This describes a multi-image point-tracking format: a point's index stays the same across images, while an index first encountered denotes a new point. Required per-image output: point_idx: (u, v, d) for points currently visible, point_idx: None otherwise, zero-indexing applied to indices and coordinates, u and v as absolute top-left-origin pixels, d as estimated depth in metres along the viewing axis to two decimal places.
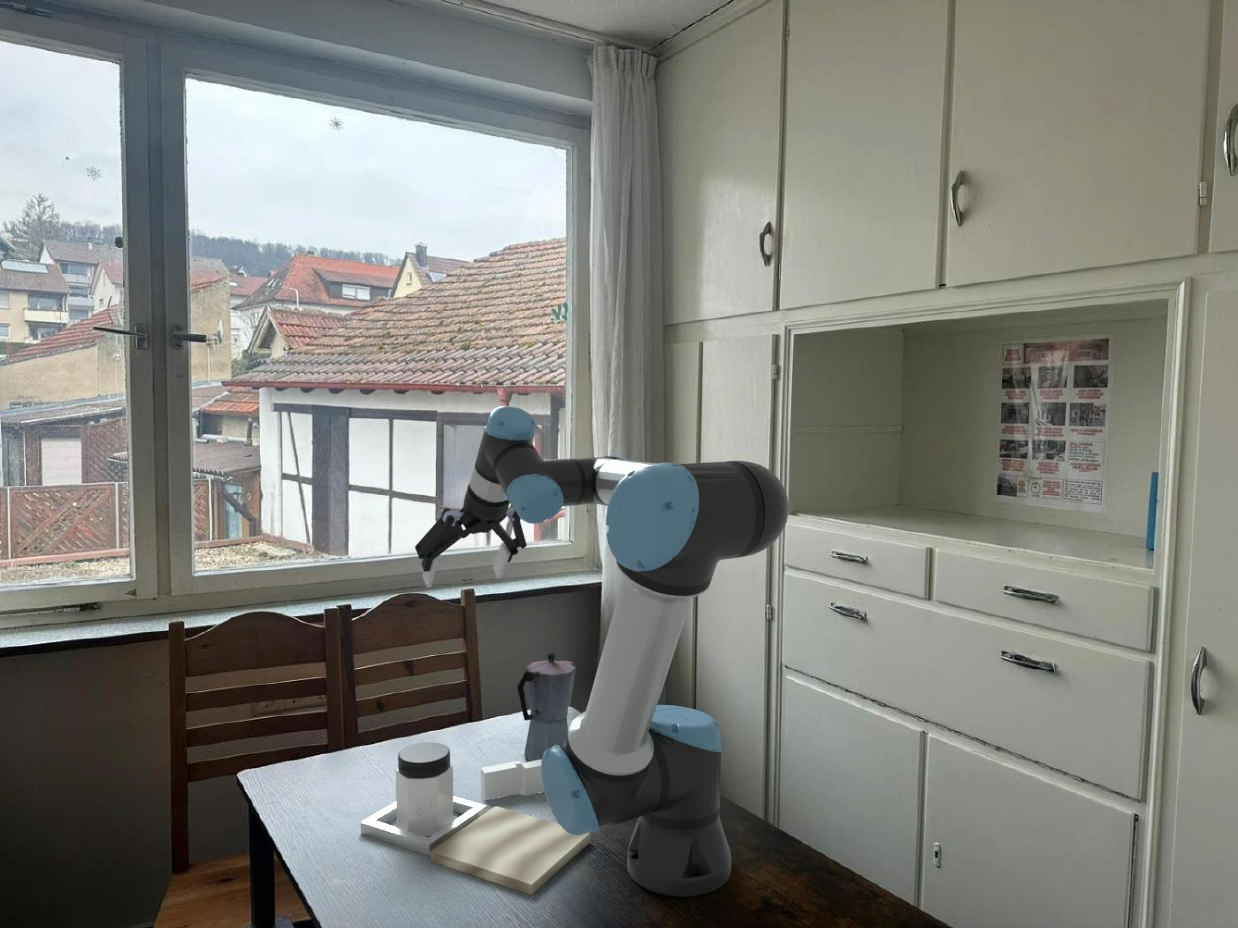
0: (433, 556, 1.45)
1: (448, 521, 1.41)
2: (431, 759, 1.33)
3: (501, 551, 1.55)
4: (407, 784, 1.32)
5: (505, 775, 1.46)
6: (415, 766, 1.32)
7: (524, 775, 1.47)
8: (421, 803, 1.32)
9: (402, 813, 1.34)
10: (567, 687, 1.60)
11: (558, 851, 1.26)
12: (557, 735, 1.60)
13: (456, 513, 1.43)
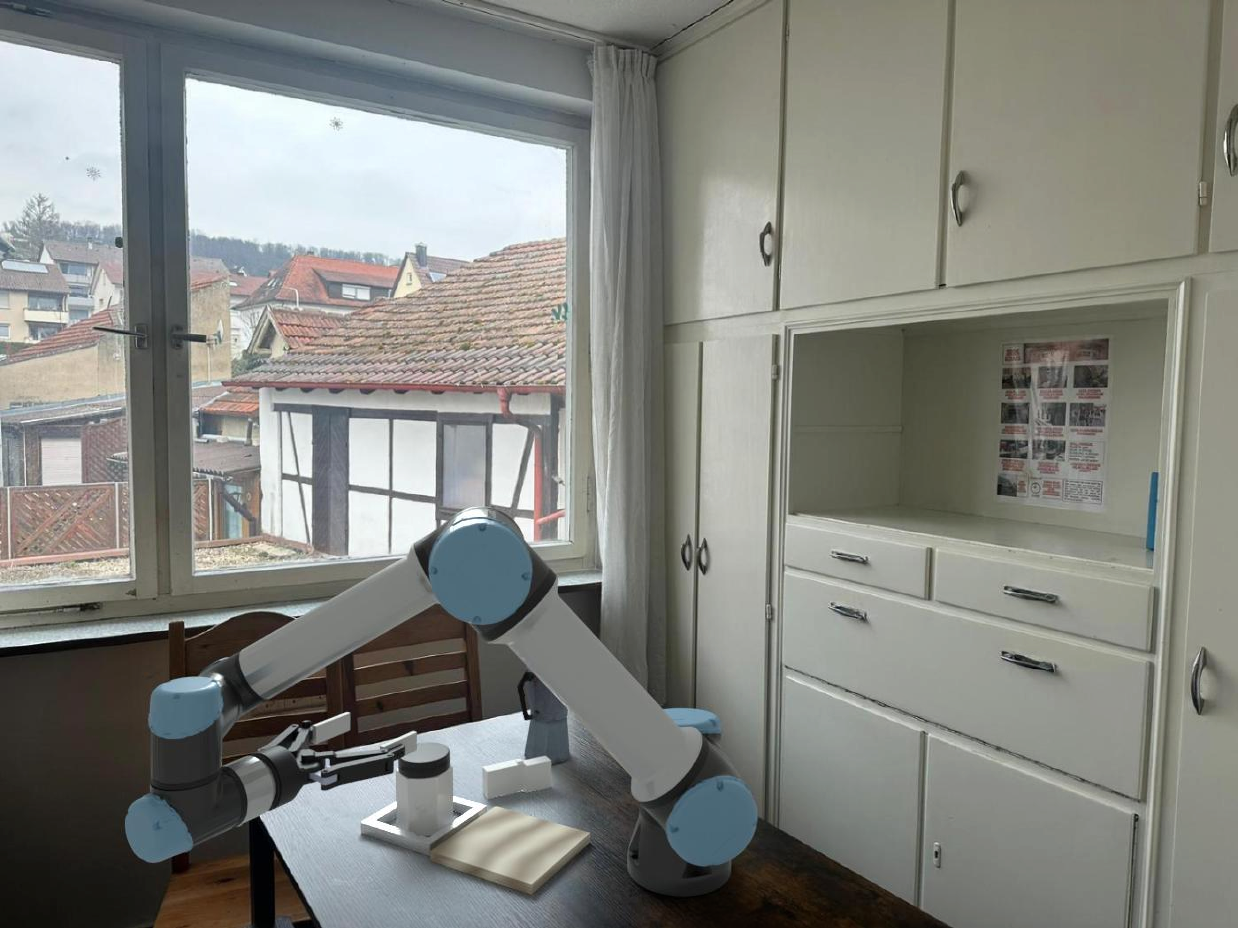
0: (380, 750, 1.17)
1: (329, 770, 1.10)
2: (431, 759, 1.33)
3: (322, 735, 1.26)
4: (407, 784, 1.32)
5: (507, 773, 1.47)
6: (415, 766, 1.32)
7: (526, 772, 1.48)
8: (421, 803, 1.32)
9: (402, 813, 1.34)
10: None
11: (558, 851, 1.26)
12: (557, 735, 1.60)
13: (316, 778, 1.11)
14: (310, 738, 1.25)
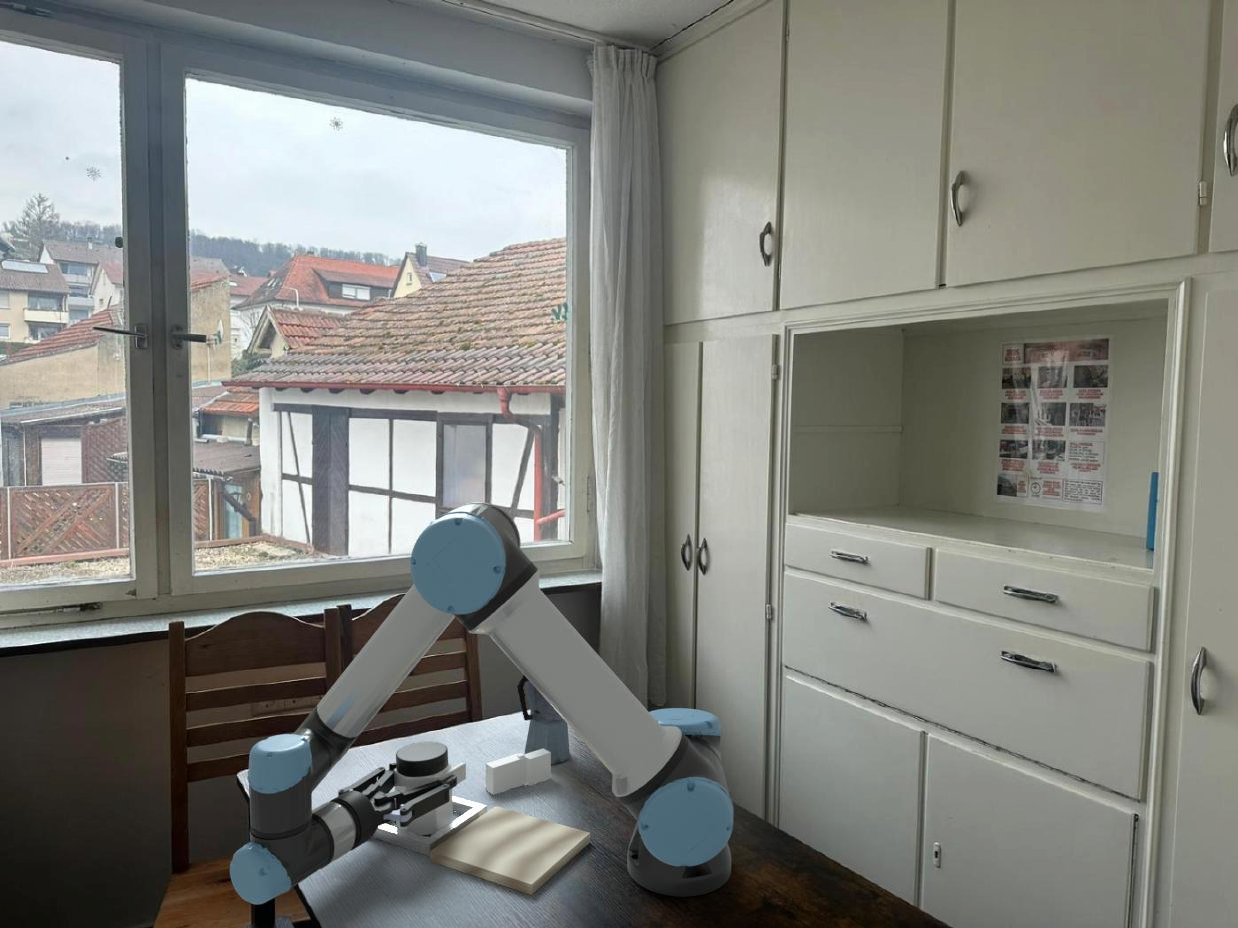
0: (436, 782, 1.32)
1: (407, 808, 1.23)
2: (429, 757, 1.33)
3: None
4: (405, 783, 1.32)
5: (511, 768, 1.49)
6: (413, 765, 1.32)
7: (528, 766, 1.51)
8: None
9: None
10: None
11: (558, 851, 1.26)
12: (557, 735, 1.60)
13: (394, 817, 1.23)
14: None
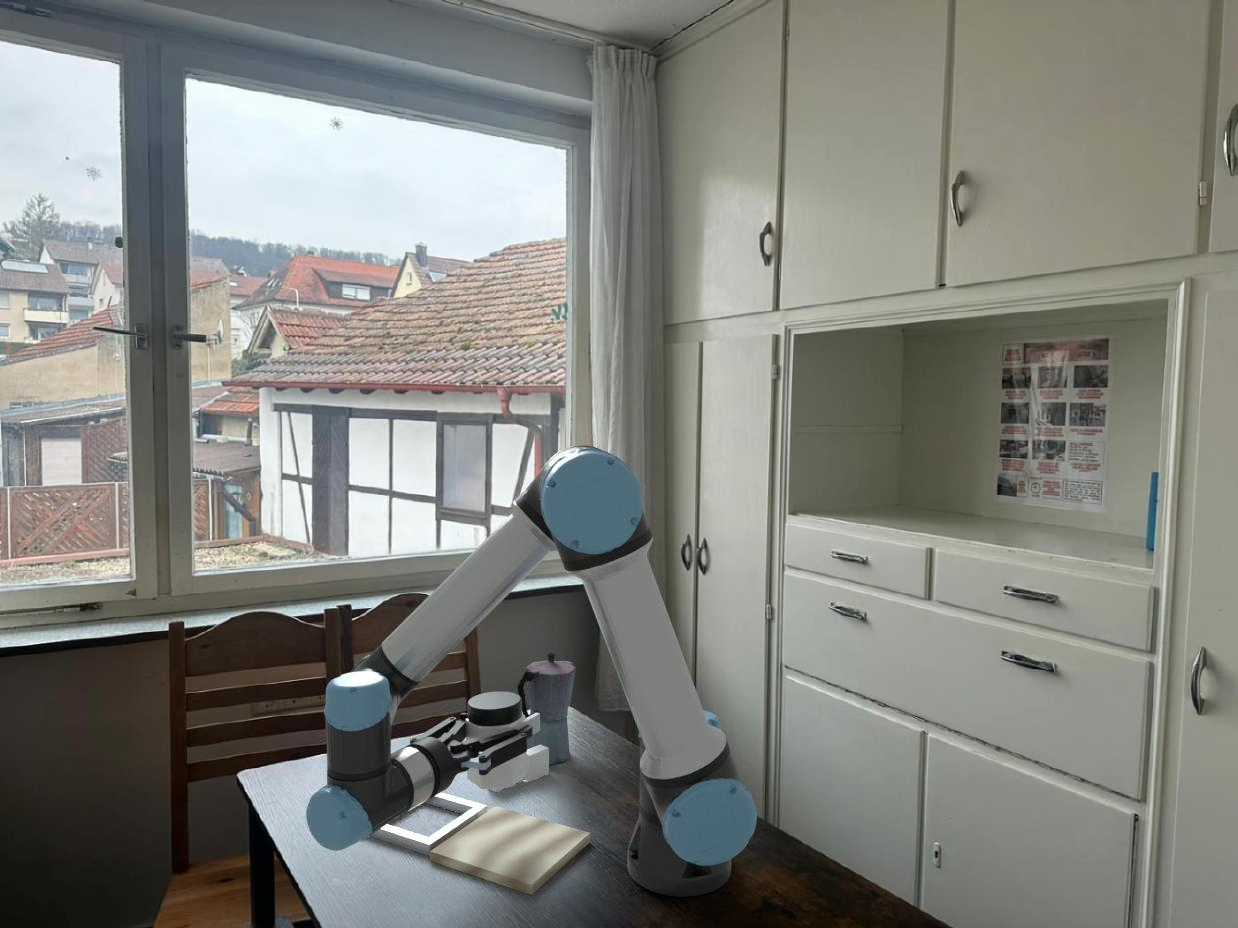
0: (513, 731, 1.24)
1: (486, 755, 1.15)
2: (503, 706, 1.25)
3: None
4: (479, 732, 1.24)
5: None
6: (487, 713, 1.24)
7: (528, 762, 1.52)
8: None
9: None
10: (567, 687, 1.60)
11: (558, 851, 1.26)
12: (557, 735, 1.60)
13: (473, 765, 1.15)
14: None
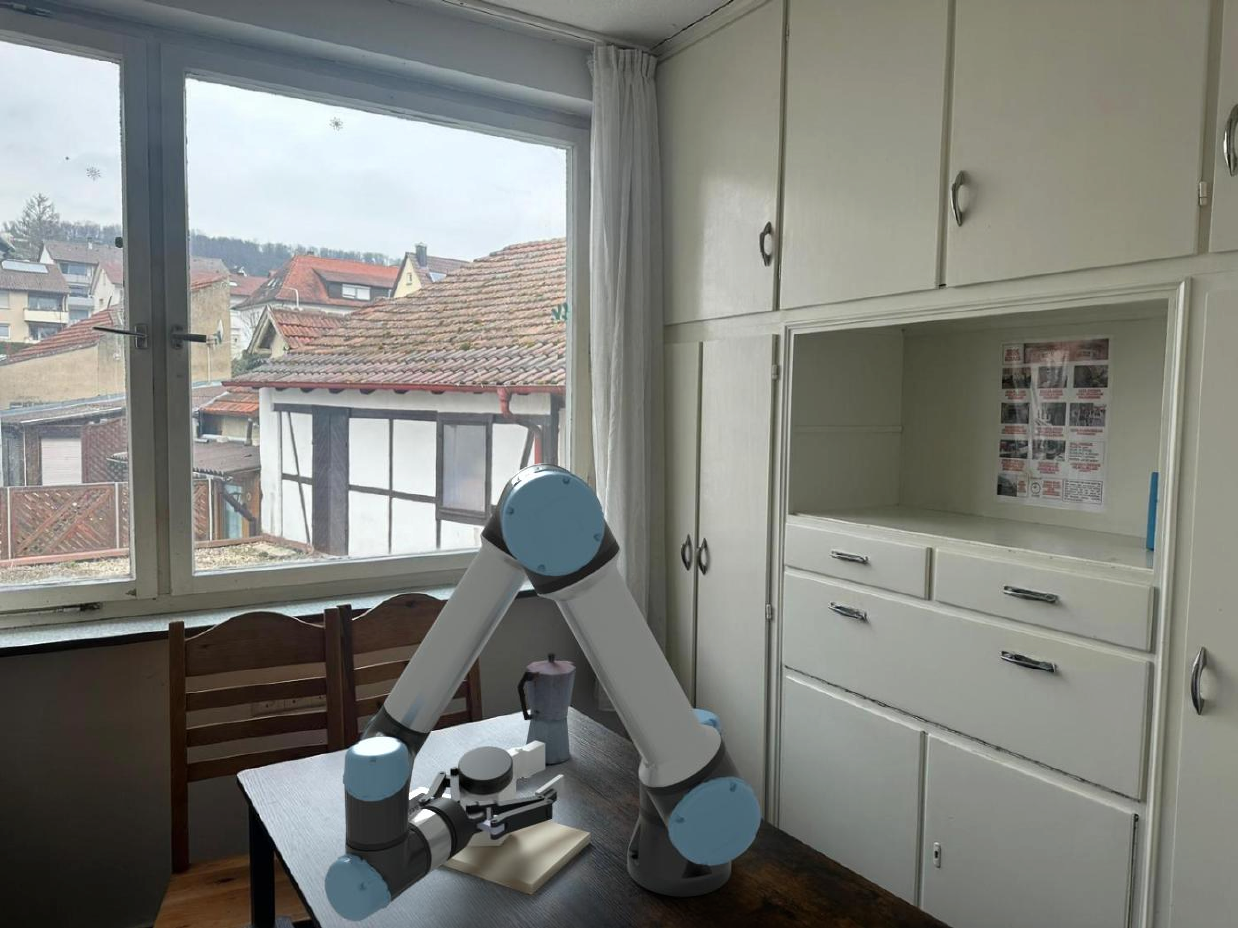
0: (537, 797, 1.21)
1: (498, 820, 1.14)
2: (493, 775, 1.24)
3: None
4: None
5: None
6: (476, 783, 1.23)
7: (526, 758, 1.54)
8: None
9: None
10: (567, 687, 1.60)
11: (558, 851, 1.26)
12: (557, 735, 1.60)
13: (485, 827, 1.14)
14: None
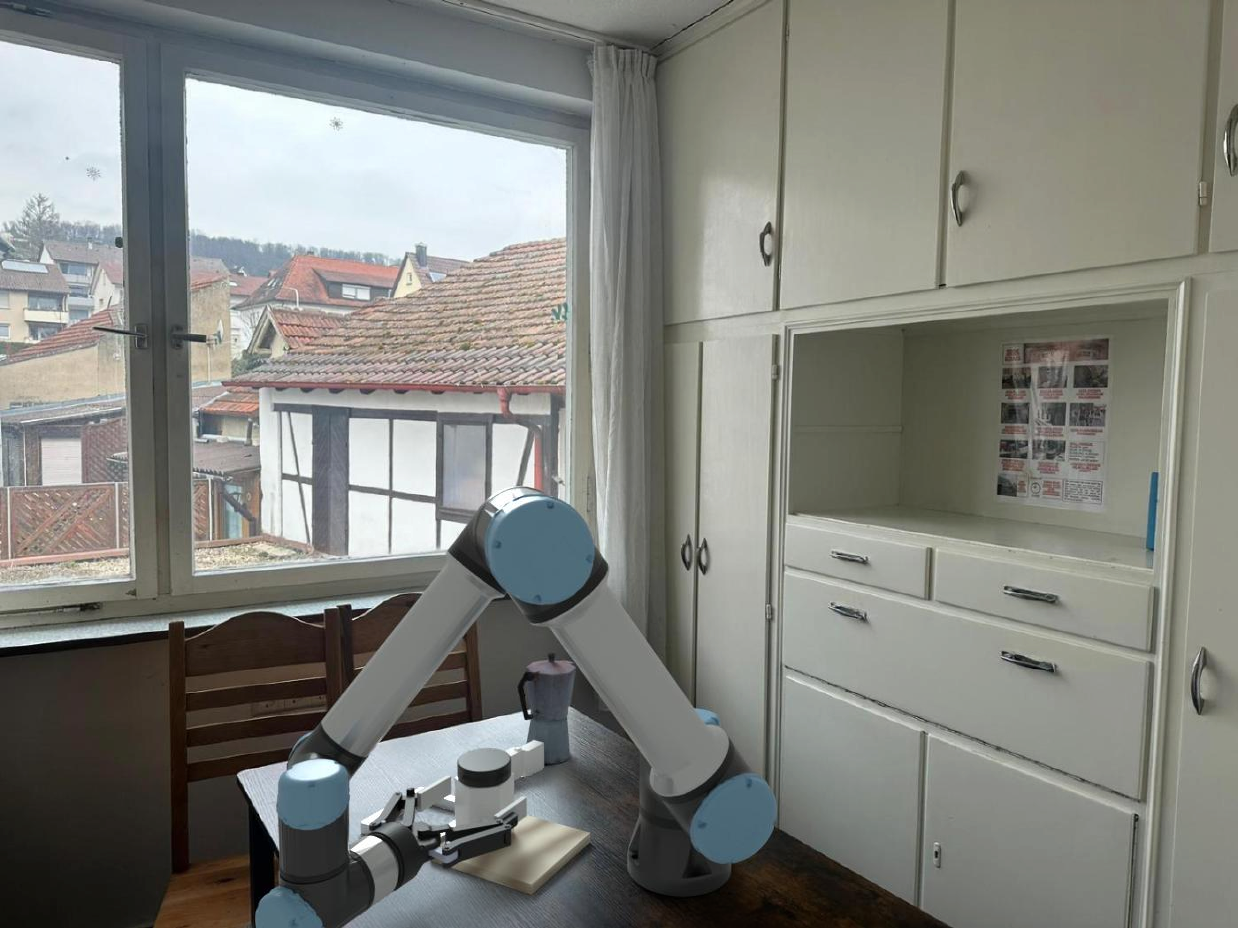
0: (495, 821, 1.13)
1: (450, 847, 1.06)
2: (494, 767, 1.27)
3: (426, 802, 1.22)
4: (469, 794, 1.26)
5: (511, 762, 1.52)
6: (477, 775, 1.25)
7: (526, 758, 1.54)
8: (483, 813, 1.26)
9: (462, 823, 1.28)
10: (567, 687, 1.60)
11: (558, 851, 1.26)
12: (557, 735, 1.60)
13: (437, 855, 1.07)
14: (415, 806, 1.21)
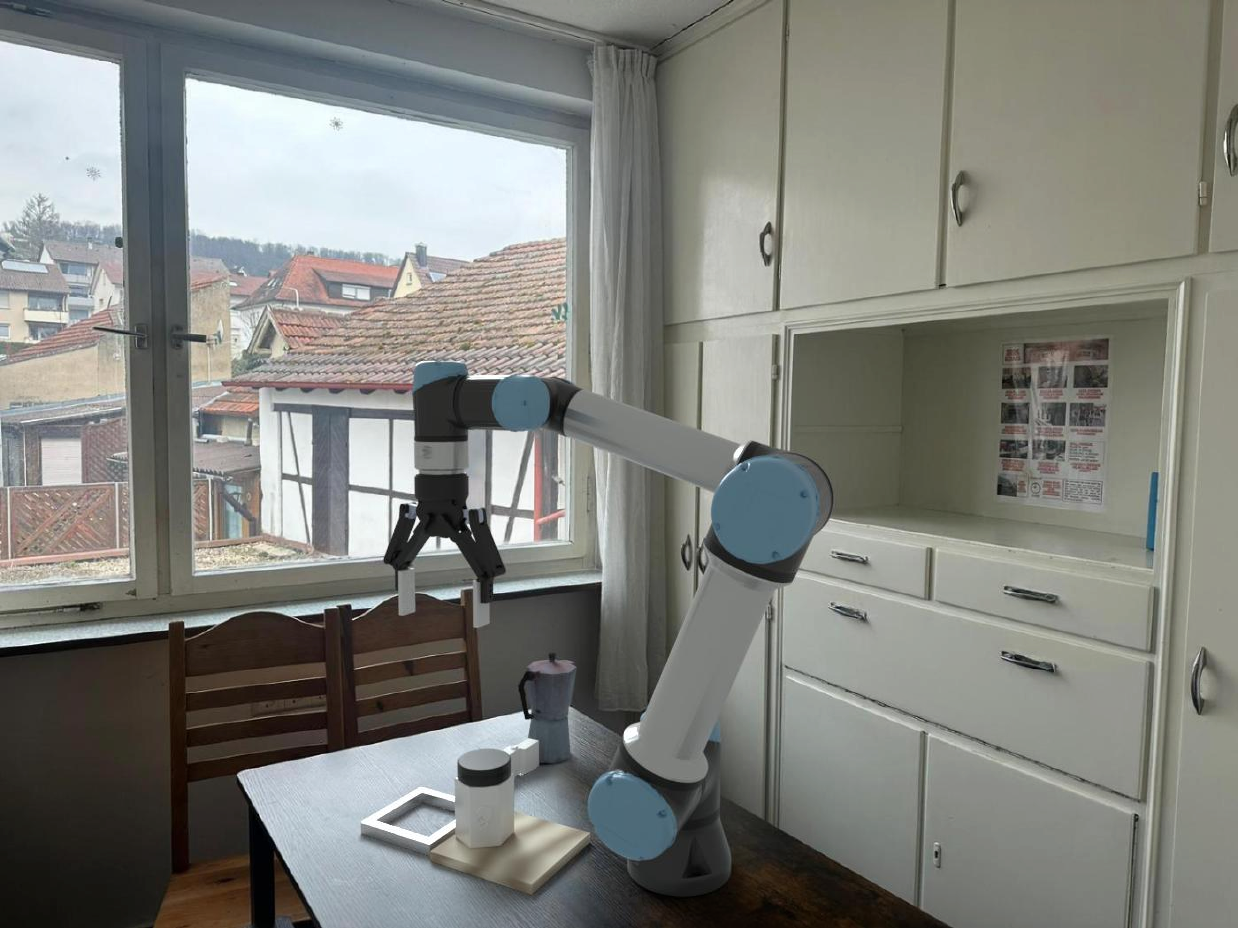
0: None
1: None
2: (493, 766, 1.27)
3: (406, 578, 1.24)
4: (469, 793, 1.26)
5: None
6: (477, 774, 1.26)
7: (522, 756, 1.55)
8: (483, 813, 1.26)
9: (462, 823, 1.28)
10: (568, 686, 1.60)
11: (558, 851, 1.26)
12: (557, 734, 1.60)
13: (469, 509, 1.18)
14: (402, 567, 1.24)
